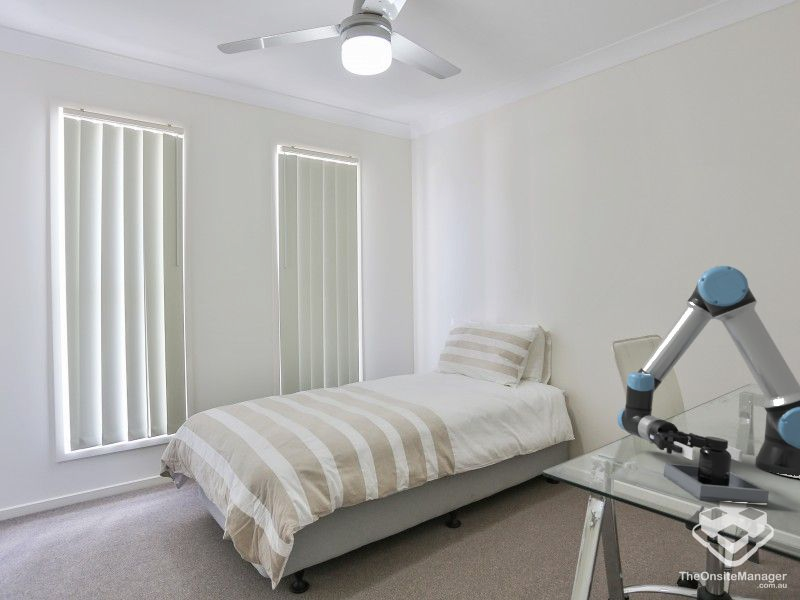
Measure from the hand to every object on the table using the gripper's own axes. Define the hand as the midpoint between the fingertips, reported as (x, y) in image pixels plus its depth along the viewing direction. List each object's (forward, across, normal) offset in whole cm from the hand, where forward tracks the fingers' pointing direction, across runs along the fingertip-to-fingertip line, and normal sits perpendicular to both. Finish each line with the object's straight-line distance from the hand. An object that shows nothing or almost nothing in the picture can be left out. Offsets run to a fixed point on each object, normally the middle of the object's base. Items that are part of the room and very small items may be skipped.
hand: (717, 455), depth 122 cm
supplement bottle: (-1, 0, -8) cm, 8 cm away
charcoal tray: (-1, 0, -9) cm, 9 cm away
